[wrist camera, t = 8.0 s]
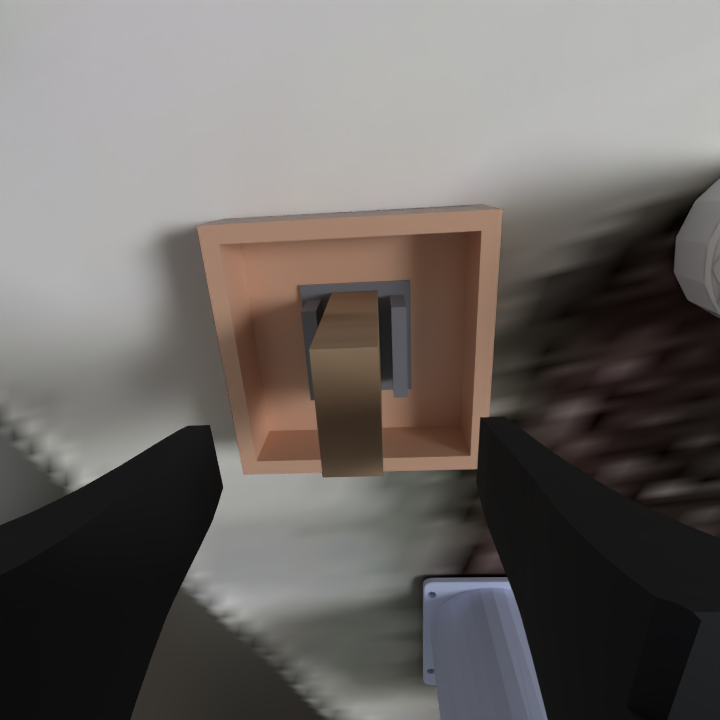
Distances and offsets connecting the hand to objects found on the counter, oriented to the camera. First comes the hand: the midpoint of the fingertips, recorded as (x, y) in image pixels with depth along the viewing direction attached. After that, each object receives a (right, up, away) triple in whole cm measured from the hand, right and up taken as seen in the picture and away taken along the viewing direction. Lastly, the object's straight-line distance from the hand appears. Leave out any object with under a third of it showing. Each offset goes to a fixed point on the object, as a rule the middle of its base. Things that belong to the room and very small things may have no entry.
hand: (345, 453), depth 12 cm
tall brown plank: (0, +3, +8) cm, 9 cm away
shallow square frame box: (0, +4, +9) cm, 10 cm away
